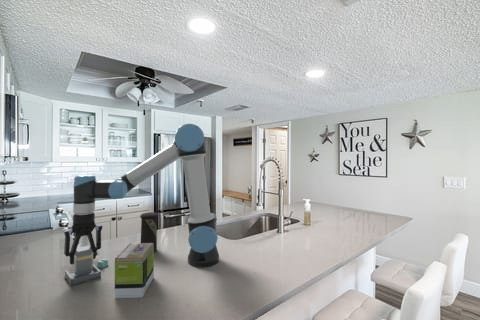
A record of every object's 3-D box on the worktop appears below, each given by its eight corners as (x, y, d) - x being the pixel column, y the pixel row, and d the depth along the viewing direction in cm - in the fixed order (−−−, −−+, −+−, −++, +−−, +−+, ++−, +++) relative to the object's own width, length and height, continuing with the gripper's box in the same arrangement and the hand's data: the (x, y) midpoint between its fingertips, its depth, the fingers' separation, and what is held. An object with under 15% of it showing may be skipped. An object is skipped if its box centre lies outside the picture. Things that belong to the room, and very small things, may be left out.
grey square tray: (100, 277, 100) (100, 271, 100) (71, 286, 93) (71, 279, 93) (92, 268, 107) (92, 263, 107) (64, 276, 100) (64, 270, 100)
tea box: (129, 278, 100) (130, 242, 100) (154, 277, 101) (155, 242, 101) (113, 299, 85) (114, 256, 85) (142, 298, 86) (143, 256, 86)
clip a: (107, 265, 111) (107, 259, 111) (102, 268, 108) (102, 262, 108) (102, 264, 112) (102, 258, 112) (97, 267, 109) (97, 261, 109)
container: (151, 254, 125) (152, 215, 125) (135, 252, 127) (136, 214, 127) (160, 248, 133) (161, 212, 133) (145, 246, 135) (146, 210, 135)
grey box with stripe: (91, 273, 100) (92, 248, 100) (77, 277, 97) (77, 251, 97) (87, 269, 104) (88, 245, 104) (73, 272, 100) (74, 248, 100)
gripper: (105, 208, 109) (103, 260, 109) (54, 214, 96) (53, 273, 96) (111, 211, 104) (109, 265, 104) (58, 218, 91) (57, 280, 91)
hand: (82, 269), depth 100 cm, fingers open, 5 cm apart
